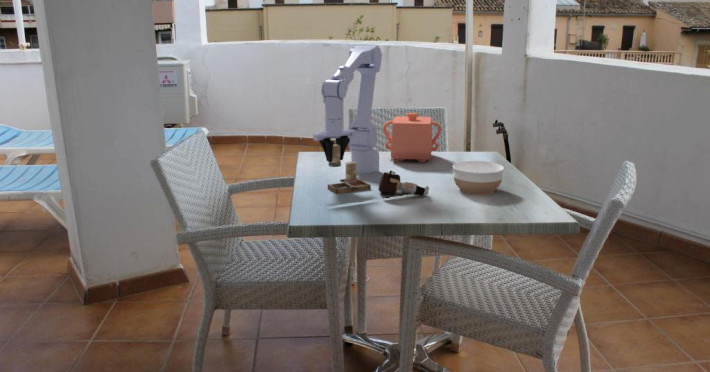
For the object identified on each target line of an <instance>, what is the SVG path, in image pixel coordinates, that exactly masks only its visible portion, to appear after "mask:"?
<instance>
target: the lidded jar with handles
mask: <svg viewBox="0 0 710 372" xmlns="http://www.w3.org/2000/svg"><path fill="white" fill-rule="evenodd" d="M406 115H407V116H402V115H400V116H398V115H397V116H394V118H393V120H392V119H391V120H387V121H386V122H385V123H384V124H383V127H382V131H383V134H384V135H385V137H386V139H387V141H385V144H384V147H385V149H386V150H390V156H391V159H395V162H397V163H399V162H400V163H402V162H405V160H416V161H417V162H418V163H427V160H428V161H429V160H431V157H432V151H433V152H435V151H438V149H439V148H440V147H439V146H440V145H439V143H437V140H438V139H439V137H440V136H441V134H442V132H443V131H442V126H441V124H439V123H438V122H437V121H434V120H432V117H431V116H419V113H417V112H407V113H406ZM389 125H392V126H391V136H390V134H389V133H388V130H387V127H388V126H389ZM433 126H436V127H437V129H438V130H437V133H436V134H435V136H434V137H433V128H432V127H433ZM389 144H390V145H389ZM434 146H435V147H434Z"/></svg>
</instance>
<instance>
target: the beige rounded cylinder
mask: <svg viewBox="0 0 710 372" xmlns="http://www.w3.org/2000/svg"><path fill="white" fill-rule="evenodd" d="M341 161H342V160H340V145H336V144H333V149H332V162H328V167H330V168H338V167H341V166H342V162H341Z"/></svg>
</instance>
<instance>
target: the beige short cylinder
mask: <svg viewBox="0 0 710 372" xmlns="http://www.w3.org/2000/svg"><path fill="white" fill-rule="evenodd" d="M357 174H358V173H357V163H356V162H351V161H347V162H345V178H344V179H345V182H352V181H357V178H358V177H357Z"/></svg>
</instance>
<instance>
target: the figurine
mask: <svg viewBox="0 0 710 372" xmlns="http://www.w3.org/2000/svg"><path fill="white" fill-rule="evenodd" d="M379 180H380V181H379V185H378V191H379V192H380V193H382V195H383V196H385V197H384V198H385V199H390V197H389V196H387V195H395V194H396V193H397V192H398V191H401V192H402V193H405V194H410V195H417V196H421V197H427V195H428V194H429V191H430V186H428V185H426V186H425V187H423V186H419V185H418V184H417V183H414V182H408V181H405V182H401V176H400V175H399V174H396V172H395V171H393V170H389V172H388V171H386V172H385V171H383V173H382V175H381V177H380V179H379Z"/></svg>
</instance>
